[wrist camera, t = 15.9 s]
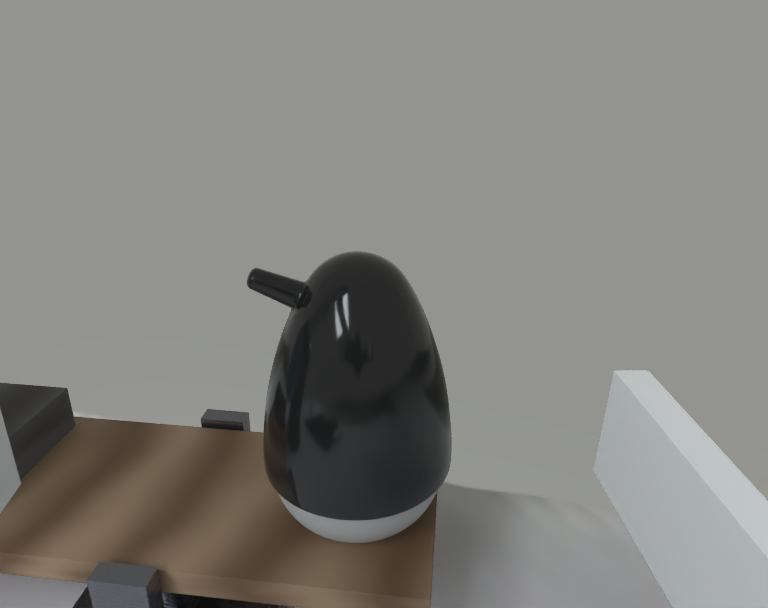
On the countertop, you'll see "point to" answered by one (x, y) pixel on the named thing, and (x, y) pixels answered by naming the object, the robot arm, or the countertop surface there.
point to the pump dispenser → (354, 400)
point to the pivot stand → (141, 583)
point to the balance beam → (183, 514)
